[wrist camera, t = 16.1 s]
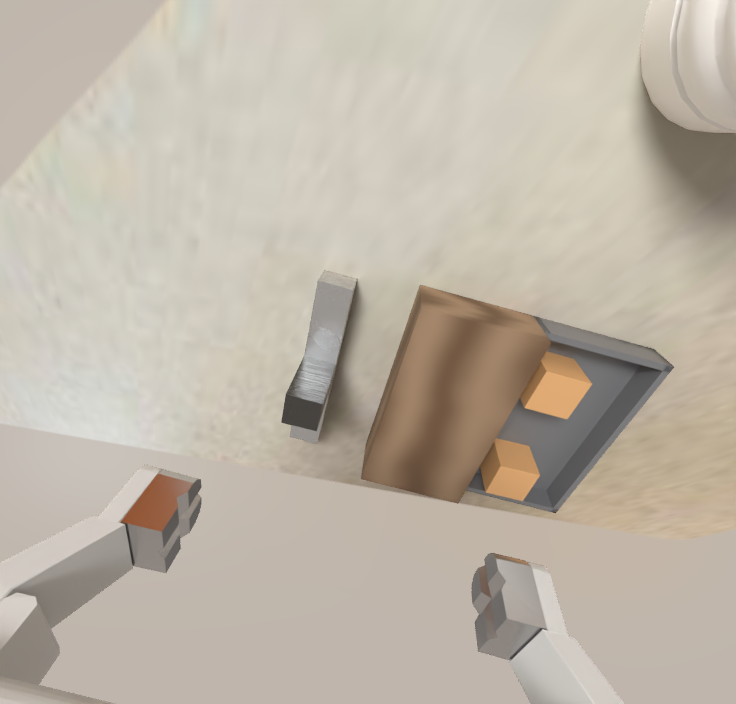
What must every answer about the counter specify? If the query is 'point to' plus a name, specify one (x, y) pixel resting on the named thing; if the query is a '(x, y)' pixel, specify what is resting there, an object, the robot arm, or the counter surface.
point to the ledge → (450, 392)
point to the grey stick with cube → (319, 357)
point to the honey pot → (691, 62)
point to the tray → (581, 412)
